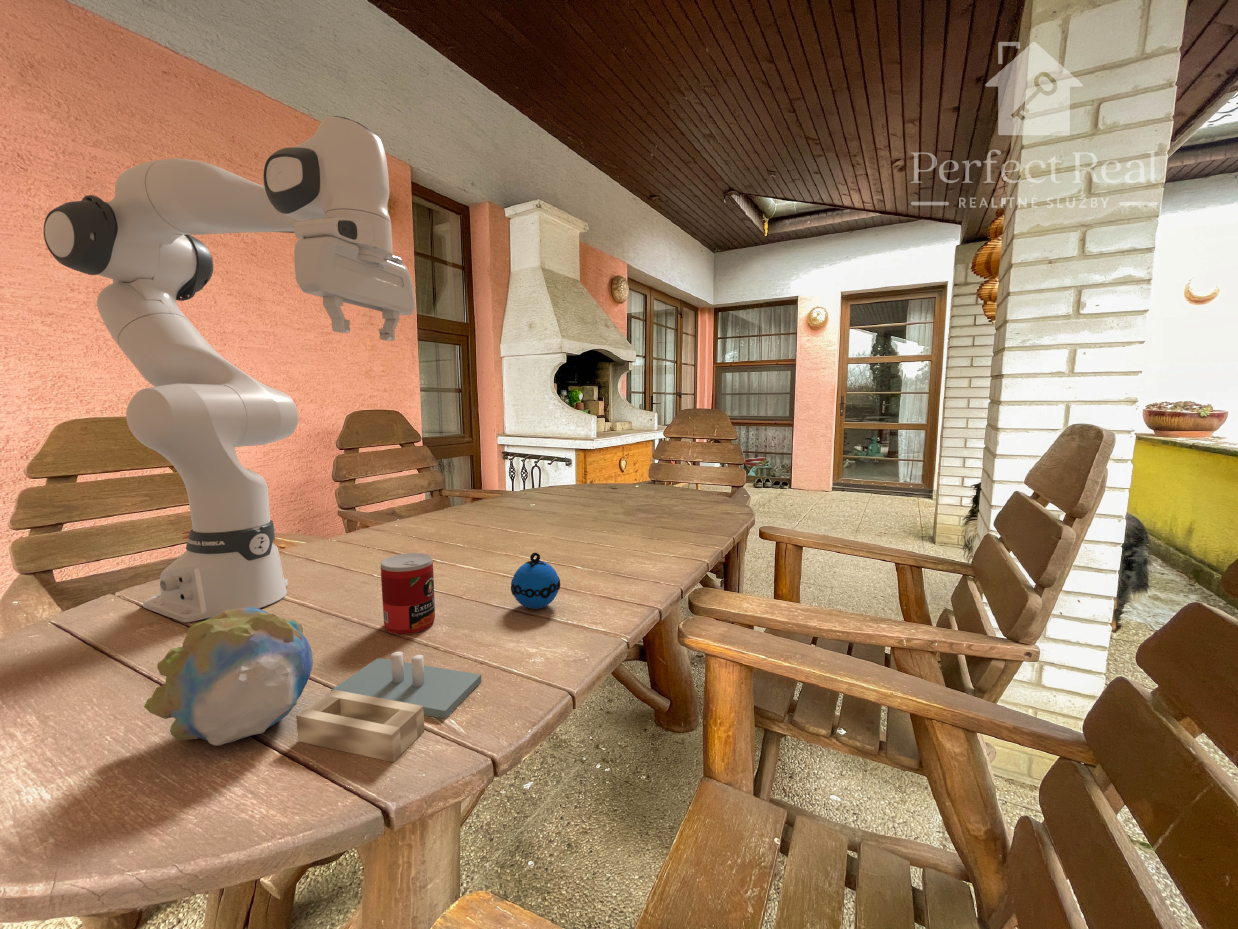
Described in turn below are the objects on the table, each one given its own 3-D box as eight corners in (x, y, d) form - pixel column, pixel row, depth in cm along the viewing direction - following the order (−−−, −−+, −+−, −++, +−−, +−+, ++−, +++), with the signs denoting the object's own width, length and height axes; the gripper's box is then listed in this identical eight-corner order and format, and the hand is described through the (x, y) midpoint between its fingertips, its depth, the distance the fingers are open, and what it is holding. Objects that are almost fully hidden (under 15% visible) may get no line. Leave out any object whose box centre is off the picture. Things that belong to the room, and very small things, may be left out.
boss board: (331, 697, 62) (329, 663, 61) (378, 664, 69) (376, 634, 69) (445, 718, 58) (444, 682, 57) (481, 681, 65) (480, 649, 65)
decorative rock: (247, 614, 49) (309, 570, 64) (67, 677, 46) (175, 616, 61) (302, 737, 51) (350, 667, 66) (133, 804, 48) (222, 715, 63)
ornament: (522, 621, 83) (521, 563, 82) (504, 604, 90) (503, 550, 89) (568, 610, 88) (568, 555, 87) (548, 594, 95) (547, 543, 94)
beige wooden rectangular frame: (298, 741, 54) (296, 715, 53) (335, 713, 58) (333, 689, 58) (393, 762, 51) (391, 735, 50) (424, 731, 55) (423, 706, 55)
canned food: (418, 637, 77) (415, 569, 76) (372, 632, 79) (368, 565, 78) (444, 617, 85) (442, 554, 83) (402, 613, 86) (399, 551, 85)
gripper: (390, 261, 85) (394, 344, 86) (281, 219, 65) (290, 327, 67) (422, 258, 83) (426, 343, 85) (321, 214, 64) (329, 325, 65)
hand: (365, 336), depth 76 cm, fingers open, 8 cm apart
